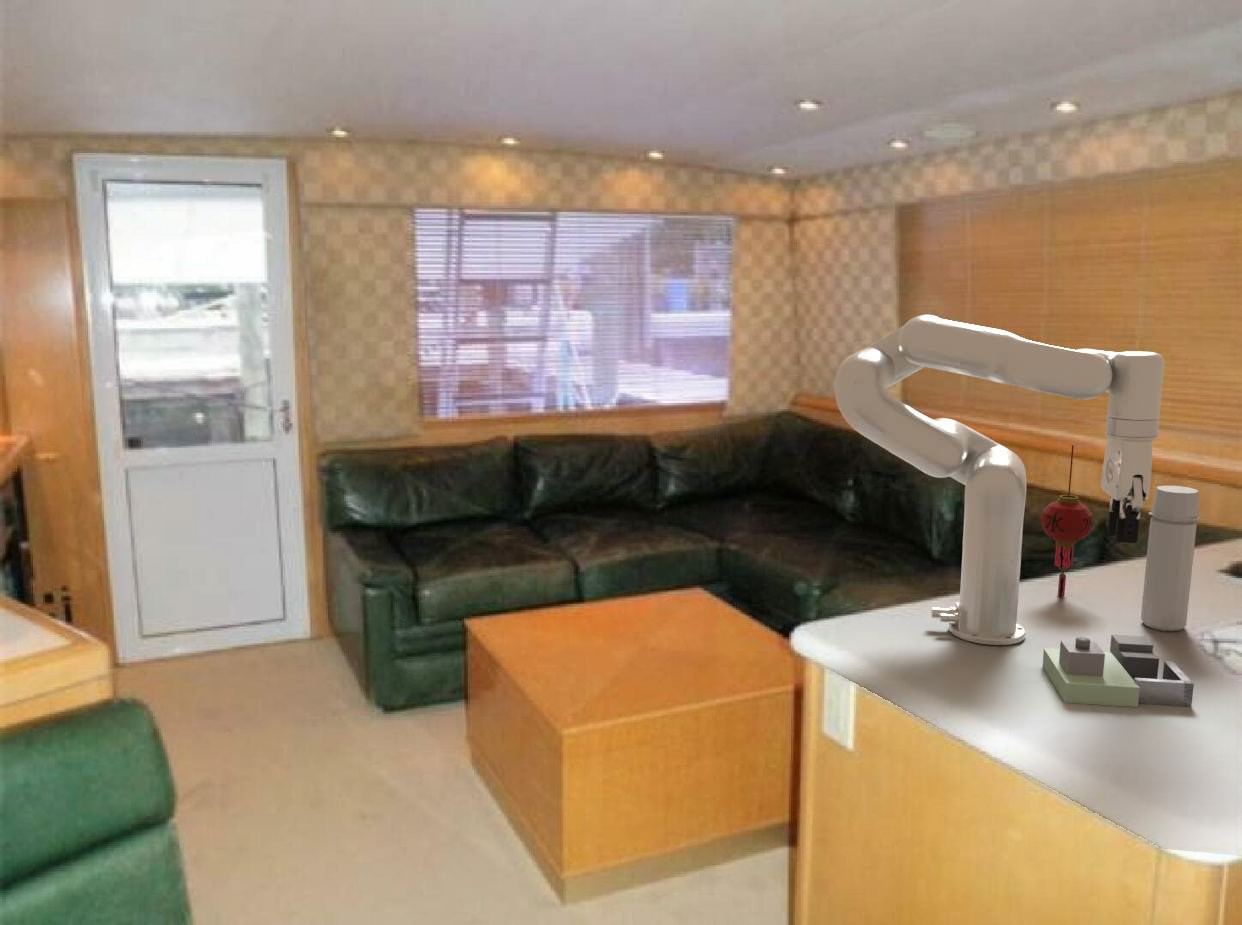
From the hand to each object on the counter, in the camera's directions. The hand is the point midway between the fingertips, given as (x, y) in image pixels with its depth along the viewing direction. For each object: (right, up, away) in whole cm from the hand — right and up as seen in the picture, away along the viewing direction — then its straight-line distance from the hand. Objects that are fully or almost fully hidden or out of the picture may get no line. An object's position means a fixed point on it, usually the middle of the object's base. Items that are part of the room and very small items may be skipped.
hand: (1122, 537), depth 163 cm
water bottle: (+15, -17, +15) cm, 27 cm away
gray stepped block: (-2, -21, -6) cm, 22 cm away
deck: (-11, -22, -11) cm, 27 cm away
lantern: (+4, -14, +31) cm, 34 cm away
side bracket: (-3, -22, -14) cm, 27 cm away
